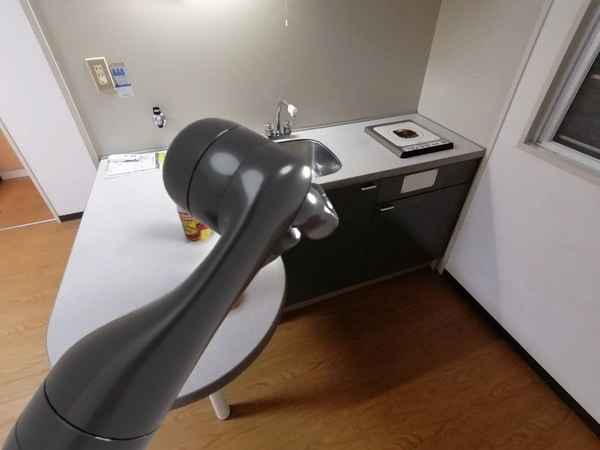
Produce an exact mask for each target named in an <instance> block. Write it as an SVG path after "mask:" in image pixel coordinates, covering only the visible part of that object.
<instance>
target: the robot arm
mask: <svg viewBox="0 0 600 450" xmlns="http://www.w3.org/2000/svg"><path fill="white" fill-rule="evenodd" d="M161 171H162V175H161V178H162V183H163V187H164V189H165V191H166V193H167V195H168V198H169V199H171V201H172V202H173V203H174V204H175V205H176V206H178V207H179V208H180V209H182V210H183V211H184V212H185V213H187V214H188V215H190V216H191V217H193V218H194V219H196V220H197V221H199V222H200V223H202V224H203V225H205V226H206V227H208V228H210V230H211V231H213V232H214V233H216V234H218V236H219V239H218V240H217V241H216V243H215V244H214V246H213V247H212V249H211V250H210V251H209V253H208V254H207V255H206V256H205V258H203V260H202V261H201V262H200V263H199V264H198V265H197V267H195V268H194V270H193V271H192V272H191V273H190V274H189V275H188V276H187V277H186V278H185V279H183V280H182V282H180V283H179V284H178V285H176V286H175V287H173V288H172V289H170V290H169V291H167V292H166V293H164V294H163V295H161V296H159V297H157V298H155V299H154V300H152V301H150V302H147V303H146V304H144V305H141V306H140V307H137V308H135V309H133V310H131V311H129V312H127V313H124V314H122V315H120V316H118V317H116V318H114V319H112V320H109V321H108V322H107V323H104V324H103V325H101V326H98V327H97V328H95V329H94V330H92V331H90V332H89V333H87V334H85V335H84V336H83V337H81V338H80V339H78V340H77V341H76V342H75V343H73V344H72V346H70V347H69V348H68V349H67V350H65V352H64V353H63V354H62V355H61V356H60V357H59V358H58V360H57V361H56V363H55V364H54V365H53V366H52V368H51V369H50V370H49V372H48V374H47V375H46V376H45V378H44V379H43V381H42V382H41V384H40V385H39V387H37V390H36V391H35V392H34V394H33V396H32V397H31V398H30V400H29V401H28V403H27V404H26V405H25V407H24V408H23V410H22V411H21V413H20V414H19V416H18V417H17V419H16V421H15V422H14V424H13V425H12V427H11V428H10V430H9V432H8V434H7V436H6V438H5V440H4V443H3V445H2V447H1V448H0V449H1V450H146V449H147V448H148V446H149V445H150V443H151V441H152V439H153V438H154V436H155V435H156V433H157V432H158V430H159V428H160V427H161V425H162V423H163V422H164V420H165V419H166V417H167V415H168V413H169V412H170V410H171V408H172V406H173V405H174V403H175V401H176V399H177V398H178V396H179V395H180V392H181V391H182V389H183V388H184V386H185V384H186V383H187V381H188V379H189V378H190V376H191V374H192V372H193V371H194V369H195V367H196V366H197V364H198V363H199V361H200V359H201V357H202V356H203V354H204V353H205V351H206V349H207V348H208V346H209V344H210V343H211V342H212V340H213V338H214V336H215V335H216V334H217V332H218V330H219V329H220V327H221V326H222V324H223V323H224V321H225V320H226V318H227V317H228V315H229V314H230V312H232V311H233V310H232V308H233V307H234V305H235V304H236V303H237V301H238V300H239V298H240V297H241V296H242V294H243V293H244V294H245V291H246V290H247V289H248V287H249V286H250V284H251V283H252V282H253V281H254V279H255V278H256V277H257V275H258V273H259V272H260V271H261V270H262V269H264V268H265V267H267V266H268V265H269V264H271V263H273V262H274V261H276V260H277V259H279V258H280V256H281V255H283V254H284V253H286V252H287V251H289V250H290V249H292V248H294V247H295V246H297V245H298V244H299V242H300V241H301V239H302V236H303V237H304V238H306V239H309V240H313V241H316V240H317V241H318V240H322V239H325V238H328V237H330V236H331V235H333V233H335V231H336V230H337V229H338V227H339V223H340V220H339V216H338V213H337V212H336V210H335V208H334V206H333V204H332V203H331V201H330V199H329V197H328V196H327V193H326V192H325V191H324V189H323V187H322V185H320V184H319V183H316V182H312V181H313V171H312V167H311V165H310V163H309V162H308V160H307V159H306V158H304V157H303V156H301V155H300V154H299V153H297V152H294V151H293V150H291V149H289V148H287V146H284V145H282V144H280V143H279V142H276V141H274V140H272V139H270V138H268V137H266V136H264V135H262V134H260V133H258V132H257V131H255V130H252V129H250V128H248V127H247V126H244V125H242V124H240V123H238V122H236V121H233V120H229V119H226V118H221V117H204V118H200V119H196V120H195V121H193V122H191V123H188V124H187V125H186V126H184V127H183V128H182V129H181V130H179V132H178V133H177V134H176V135H175V137H174V138H173V139H172V141H171V142H170V144H169V146H168V148H167V149H166V152H165V155H164V157H163V162H162V169H161Z"/></svg>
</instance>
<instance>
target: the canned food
mask: <svg viewBox="0 0 600 450" xmlns="http://www.w3.org/2000/svg"><path fill="white" fill-rule="evenodd" d="M175 207H176V208H175V209H176V211H177V214H178V217H179V220H180V223H181V226H182V229H183V231H184V235H185V238H186V239H187V240H188V241H189V242H192V243H200V242H203V241H205V240H207V239H208V238H209V237H210V236H211V233H212V230H211V229H210V228H208V227H206V226H205V225H203V224H202V223H200V222H199V221H197V220H196V219H194V218H193V217H191V216H190V215H188V214H187V213H185V212H184V211H183V210H182V209H180V208H179V207H178V206H177V205H176V206H175Z"/></svg>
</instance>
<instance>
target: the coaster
mask: <svg viewBox="0 0 600 450" xmlns="http://www.w3.org/2000/svg"><path fill="white" fill-rule="evenodd" d="M244 300H245V292H244V293H243V294H242V296H241V297H240V298H239V300H238V301H237V303H236V304H235V305H234V307H233V308H232V310H231V311H233V310H236V309H238V308H239V307H240V306H241V305H243V302H244Z"/></svg>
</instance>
